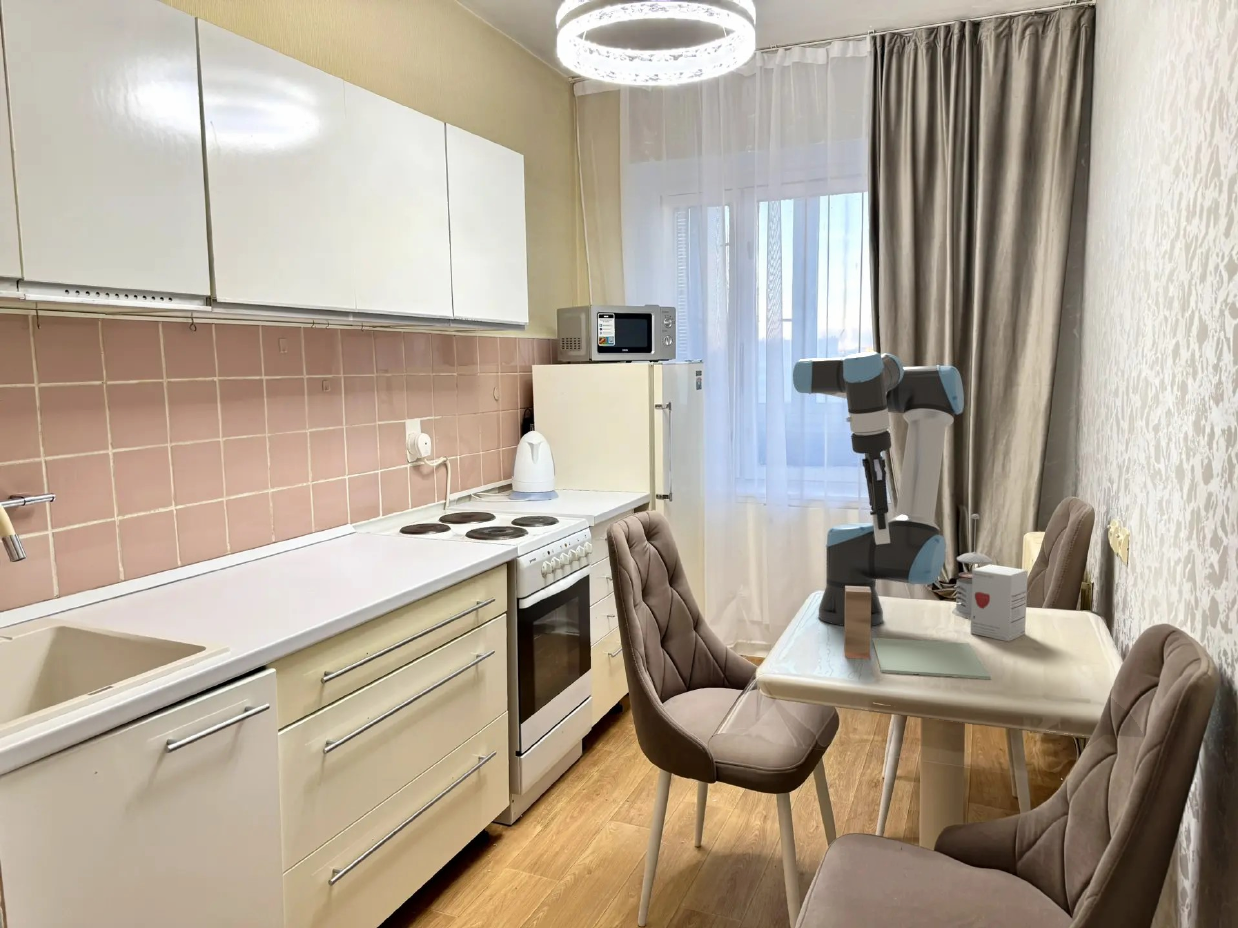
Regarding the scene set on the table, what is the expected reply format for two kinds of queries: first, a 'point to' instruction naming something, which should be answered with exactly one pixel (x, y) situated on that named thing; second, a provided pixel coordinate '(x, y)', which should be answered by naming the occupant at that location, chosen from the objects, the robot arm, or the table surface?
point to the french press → (968, 579)
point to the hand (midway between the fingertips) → (882, 542)
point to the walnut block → (857, 622)
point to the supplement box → (999, 602)
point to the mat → (929, 658)
